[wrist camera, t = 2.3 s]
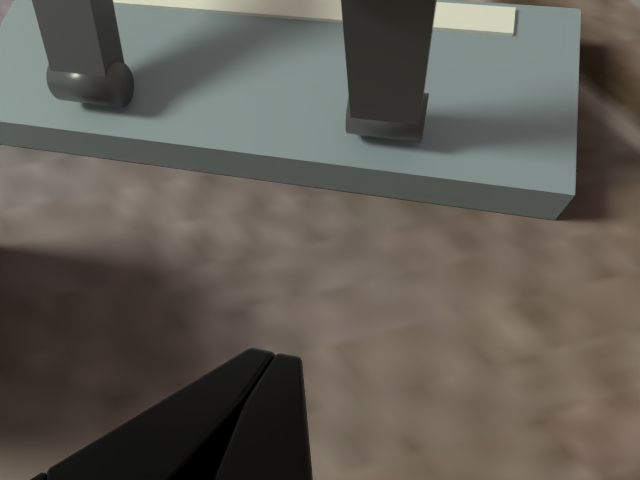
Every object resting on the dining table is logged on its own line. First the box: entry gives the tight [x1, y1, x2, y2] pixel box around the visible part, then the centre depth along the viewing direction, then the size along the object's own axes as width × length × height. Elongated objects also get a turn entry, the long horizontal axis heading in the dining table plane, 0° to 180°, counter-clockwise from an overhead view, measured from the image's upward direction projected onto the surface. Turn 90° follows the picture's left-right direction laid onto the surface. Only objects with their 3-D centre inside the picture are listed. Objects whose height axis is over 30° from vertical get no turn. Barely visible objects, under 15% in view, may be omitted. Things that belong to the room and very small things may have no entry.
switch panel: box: [0, 0, 581, 220], centre depth 26 cm, size 10×30×3 cm, turn 78°
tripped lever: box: [341, 0, 437, 142], centre depth 17 cm, size 2×4×11 cm, turn 78°
